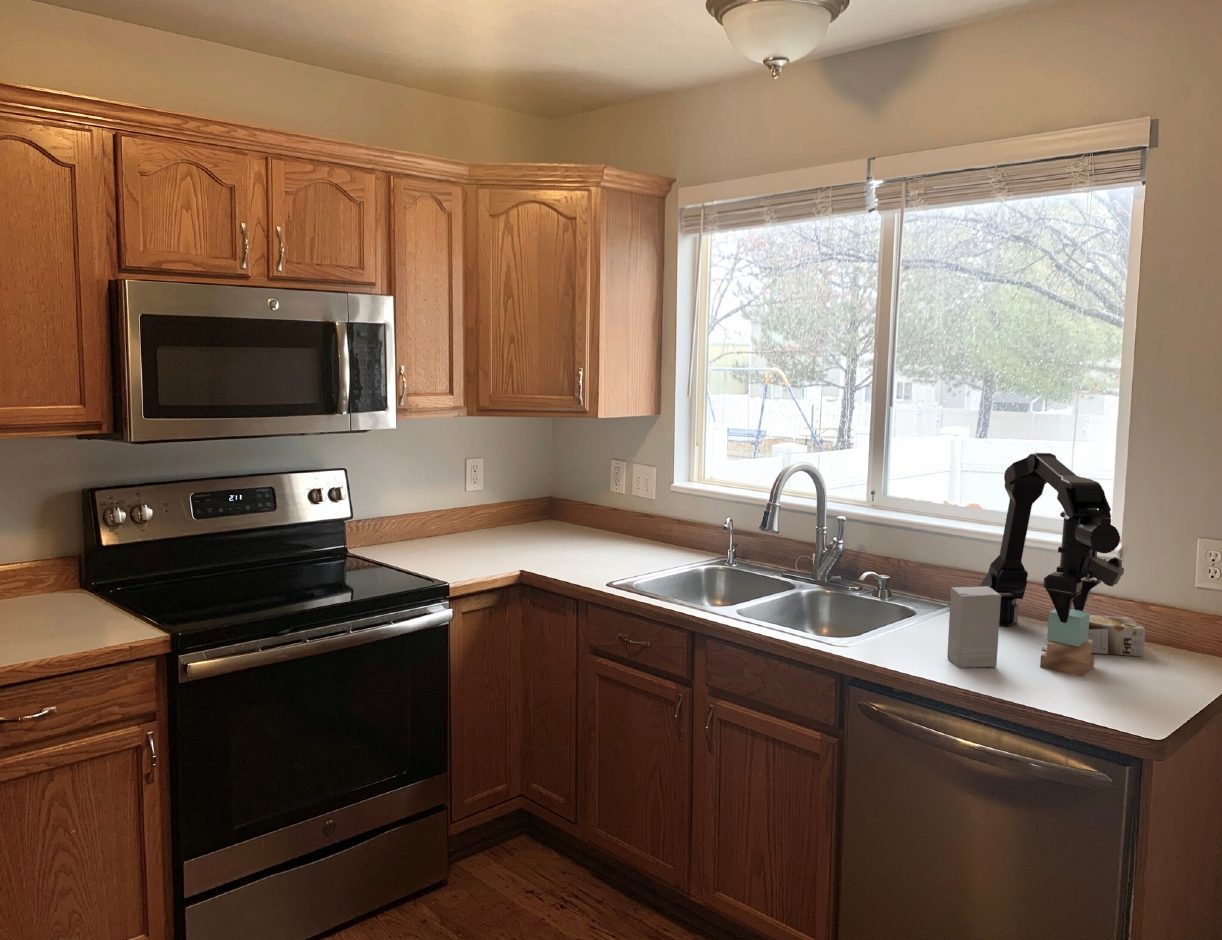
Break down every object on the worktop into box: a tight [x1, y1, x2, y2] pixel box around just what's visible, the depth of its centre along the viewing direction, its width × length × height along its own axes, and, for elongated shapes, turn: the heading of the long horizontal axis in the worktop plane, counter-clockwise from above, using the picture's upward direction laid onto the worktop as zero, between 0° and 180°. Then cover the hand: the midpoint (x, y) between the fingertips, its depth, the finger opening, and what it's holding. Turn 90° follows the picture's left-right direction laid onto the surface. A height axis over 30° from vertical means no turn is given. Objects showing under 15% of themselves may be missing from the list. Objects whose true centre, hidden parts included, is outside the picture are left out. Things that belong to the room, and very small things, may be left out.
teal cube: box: [1046, 608, 1091, 647], centre depth 193 cm, size 6×6×6 cm
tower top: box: [1046, 639, 1093, 665], centre depth 193 cm, size 8×8×3 cm
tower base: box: [1039, 651, 1096, 677], centre depth 194 cm, size 8×8×3 cm
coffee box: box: [1088, 614, 1146, 657], centre depth 207 cm, size 9×6×16 cm
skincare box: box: [946, 586, 1001, 669], centre depth 194 cm, size 8×7×16 cm
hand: (1071, 618), depth 192 cm, fingers open, 9 cm apart
